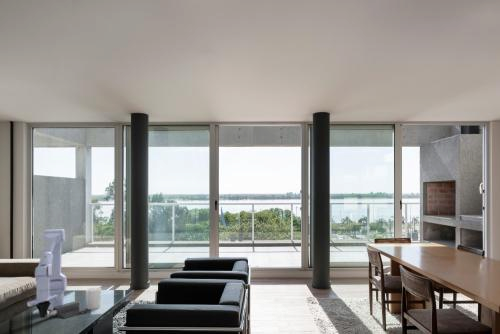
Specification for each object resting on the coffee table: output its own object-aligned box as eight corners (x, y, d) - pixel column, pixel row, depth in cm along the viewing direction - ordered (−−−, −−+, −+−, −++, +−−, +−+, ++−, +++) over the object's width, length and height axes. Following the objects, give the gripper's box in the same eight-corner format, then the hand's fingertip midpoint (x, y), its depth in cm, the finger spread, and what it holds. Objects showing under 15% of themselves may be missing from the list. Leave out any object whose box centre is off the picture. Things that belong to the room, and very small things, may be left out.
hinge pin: (47, 319, 187) (47, 311, 187) (43, 318, 189) (43, 311, 189) (73, 311, 199) (73, 304, 199) (69, 310, 201) (69, 303, 201)
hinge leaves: (65, 318, 188) (65, 309, 189) (46, 314, 196) (46, 306, 197) (86, 311, 198) (86, 303, 199) (67, 308, 207) (67, 300, 207)
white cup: (95, 309, 201) (95, 290, 202) (82, 309, 203) (82, 290, 204) (104, 305, 209) (104, 287, 210) (91, 305, 211) (91, 287, 212)
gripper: (33, 293, 180) (32, 322, 179) (61, 287, 192) (61, 314, 191) (25, 292, 183) (24, 321, 182) (53, 286, 196) (53, 312, 195)
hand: (43, 317), depth 187 cm, fingers closed
